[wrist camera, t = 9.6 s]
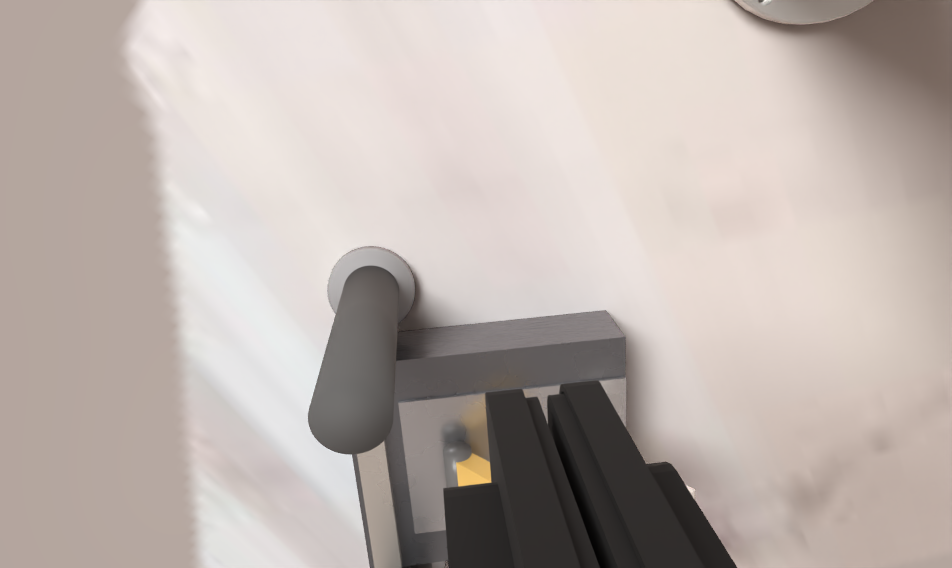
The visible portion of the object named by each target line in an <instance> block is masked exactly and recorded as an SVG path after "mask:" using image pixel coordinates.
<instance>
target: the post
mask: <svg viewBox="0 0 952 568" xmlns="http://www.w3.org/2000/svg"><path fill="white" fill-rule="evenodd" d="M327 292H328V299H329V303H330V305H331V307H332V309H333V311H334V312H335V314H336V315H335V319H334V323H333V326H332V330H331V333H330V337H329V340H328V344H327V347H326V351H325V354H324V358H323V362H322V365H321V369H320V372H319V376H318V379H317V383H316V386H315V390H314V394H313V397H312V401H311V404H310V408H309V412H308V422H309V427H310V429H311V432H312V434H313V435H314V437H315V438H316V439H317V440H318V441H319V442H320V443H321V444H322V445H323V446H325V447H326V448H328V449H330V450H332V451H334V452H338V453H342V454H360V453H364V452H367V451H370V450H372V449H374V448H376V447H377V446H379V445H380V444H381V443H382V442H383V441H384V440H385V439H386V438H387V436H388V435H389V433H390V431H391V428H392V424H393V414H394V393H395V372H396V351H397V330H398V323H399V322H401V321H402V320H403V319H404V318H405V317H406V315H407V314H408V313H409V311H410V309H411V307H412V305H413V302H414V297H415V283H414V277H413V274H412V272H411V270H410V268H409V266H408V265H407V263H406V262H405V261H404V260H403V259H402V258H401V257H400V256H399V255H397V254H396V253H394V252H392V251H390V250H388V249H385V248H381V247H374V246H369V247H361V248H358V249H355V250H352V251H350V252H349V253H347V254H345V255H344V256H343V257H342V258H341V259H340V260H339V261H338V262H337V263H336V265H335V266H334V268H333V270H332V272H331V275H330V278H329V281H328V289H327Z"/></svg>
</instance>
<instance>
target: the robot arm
mask: <svg viewBox="0 0 952 568" xmlns="http://www.w3.org/2000/svg"><path fill="white" fill-rule="evenodd" d="M734 1H736V2H737V3H738V4H739V5H740V6H742V7H743V8H744V9H745V10H747V11H749V12H751V13H753V14H755V15H757V16H759V17H761V18H763V19H766V20H770V21H774V22H778V23H782V24H801V25H805V24H815V23H824V22H828V21H831V20H835V19H838V18H842V17H845V16H847V15H849V14H851V13H853V12H855V11H857V10H859V9H861V8H863V7H865V6H867V5H868V4H870V3H871V2H872V1H874V0H760V1H759V2H758V0H734ZM485 405H486V418H487V431H488V444H489V457H490V470H491V483H483V484H475V485H466V486H458V487H449V488H443V495H444V510H445V524H446V537H447V551H448V565H449V568H737V567H736V565H735V563H734V562H733V560H732V559H731V557H730V555H729V554H728V552H727V551H726V549H725V547H724V546H723V544H722V543H721V541H720V539H719V538H718V536H717V535H716V533H715V531H714V530H713V528H712V527H711V525H710V524H709V522H708V520H707V519H706V517H705V516H704V514H703V512H702V511H701V509H700V508H699V506H698V504H697V503H696V501H695V500H694V498H693V496H692V495H691V493H690V492H689V490H688V488H687V487H686V485H685V484H684V482H683V480H682V479H681V477H680V476H679V474H678V472H677V471H676V470H675V468H674V467H673V466H672V465H671V464H670V463H668V462H661V463H653V464H646V463H645V461H644V459H643V458H642V456H641V454H640V452H639V451H638V449H637V447H636V445H635V443H634V442H633V440H632V438H631V436H630V435H629V433H628V431H627V429H626V427H625V426H624V424H623V422H622V420H621V419H620V417H619V415H618V413H617V411H616V410H615V408H614V406H613V404H612V403H611V401H610V399H609V397H608V396H607V394H606V392H605V390H604V388H603V387H602V385H601V383H600V382H599V381H598V380H593V381H584V382H575V383H566V384H561V385H560V390H559V394H555V395H548V397H547V414H548V423H547V421H546V418H545V415H544V412H543V410H542V407H541V404H540V401H539V399H538V397H528V398H525V395H524V392H523V390H522V389H521V388H520V389H511V390H502V391H493V392H485Z"/></svg>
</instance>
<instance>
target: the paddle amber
mask: <svg viewBox="0 0 952 568" xmlns="http://www.w3.org/2000/svg"><path fill="white" fill-rule="evenodd" d="M443 458H444V468H445V478H446V487H447V488H449V487H458V486H466V485H475V484H483V483H491V470H490V462H489V461H487V460H485V459H483V458H481V457H479V456H477V455H475V454H473V453H472V452H471V446H470V445H469V444H468V443H466V442H461V441H456V442H451V443H449V444H447V445H446V446H445V447H444V448H443Z"/></svg>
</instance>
